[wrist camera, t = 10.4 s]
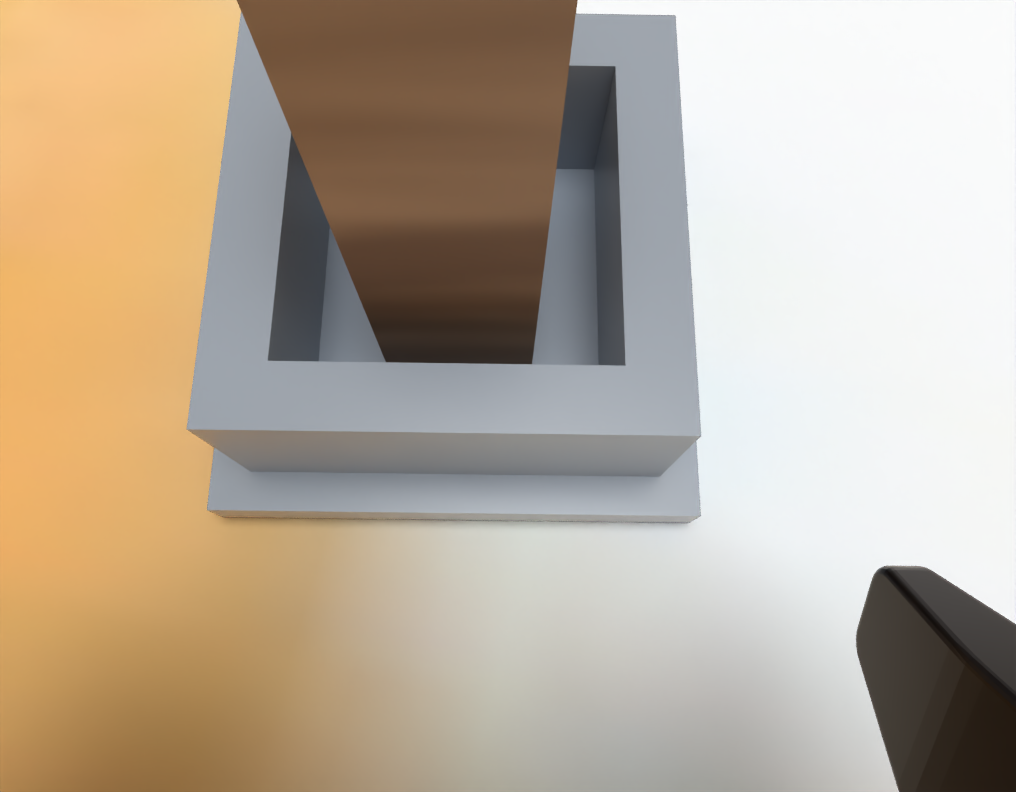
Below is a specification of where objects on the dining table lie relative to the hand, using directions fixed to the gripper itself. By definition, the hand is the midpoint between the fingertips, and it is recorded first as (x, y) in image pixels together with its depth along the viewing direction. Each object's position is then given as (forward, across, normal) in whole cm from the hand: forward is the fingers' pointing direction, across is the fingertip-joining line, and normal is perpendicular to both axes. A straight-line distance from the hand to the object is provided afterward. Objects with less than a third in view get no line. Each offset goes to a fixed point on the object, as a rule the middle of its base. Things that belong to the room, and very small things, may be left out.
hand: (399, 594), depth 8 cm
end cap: (+12, 0, +2) cm, 12 cm away
